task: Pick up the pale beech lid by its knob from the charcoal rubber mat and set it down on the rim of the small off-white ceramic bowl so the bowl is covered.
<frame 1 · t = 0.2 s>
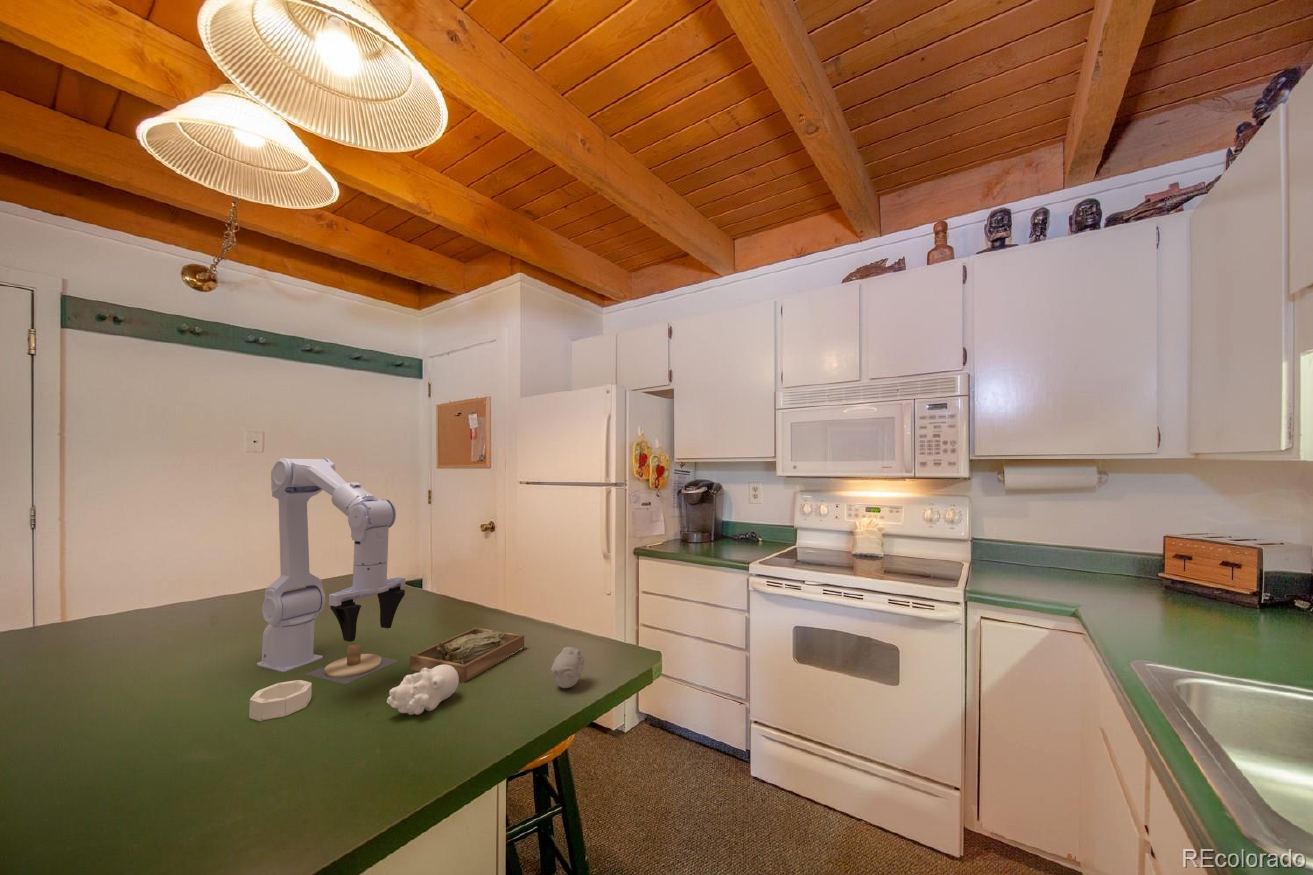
hand: (368, 633, 92), 10 cm above the countertop, tool pointing down, fingers open, 7 cm apart
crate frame: (470, 658, 105), on the countertop
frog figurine: (567, 687, 92), on the countertop
figurine: (425, 708, 84), on the countertop
mat: (353, 668, 100), on the countertop
dried leaf bundle: (470, 661, 105), resting in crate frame
lid: (353, 667, 100), resting on mat
bowl: (281, 708, 84), on the countertop
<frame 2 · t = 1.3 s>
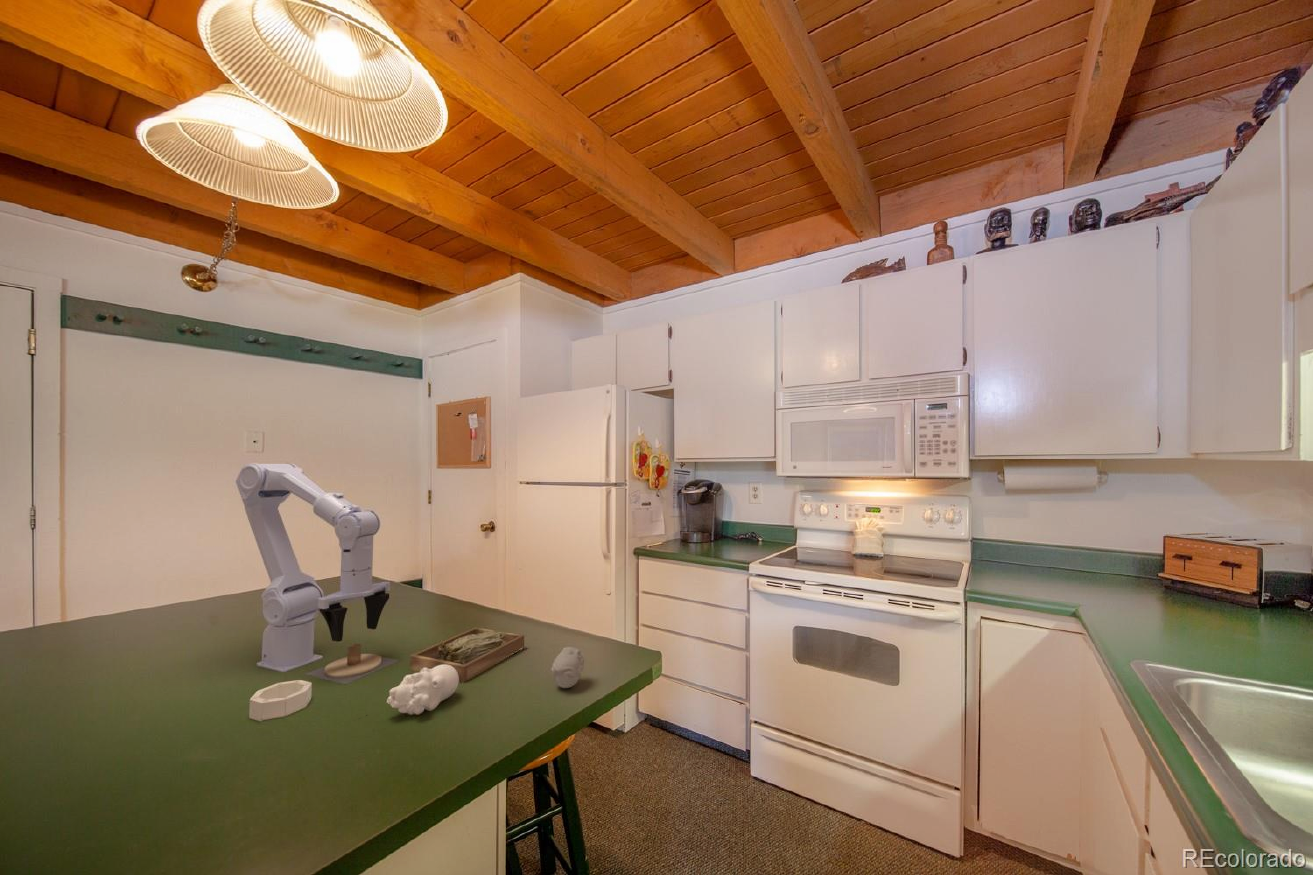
hand: (355, 634, 100), 7 cm above the countertop, tool pointing down, fingers open, 7 cm apart
nothing on the countertop moved.
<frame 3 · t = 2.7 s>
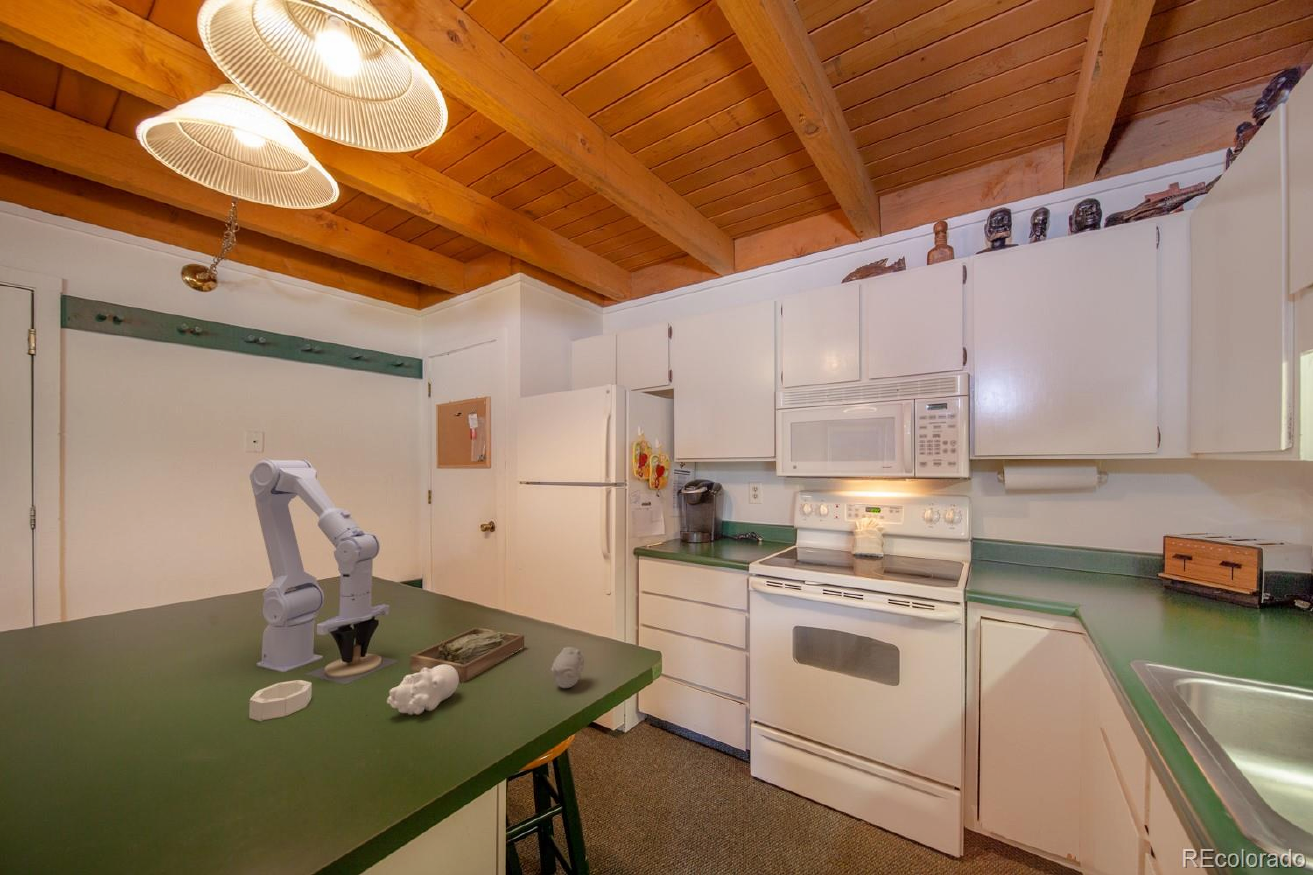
hand: (353, 658, 100), 2 cm above the countertop, tool pointing down, fingers closed on lid, 2 cm apart
lid: (353, 667, 100), resting on mat, touching gripper
everything else where it was.
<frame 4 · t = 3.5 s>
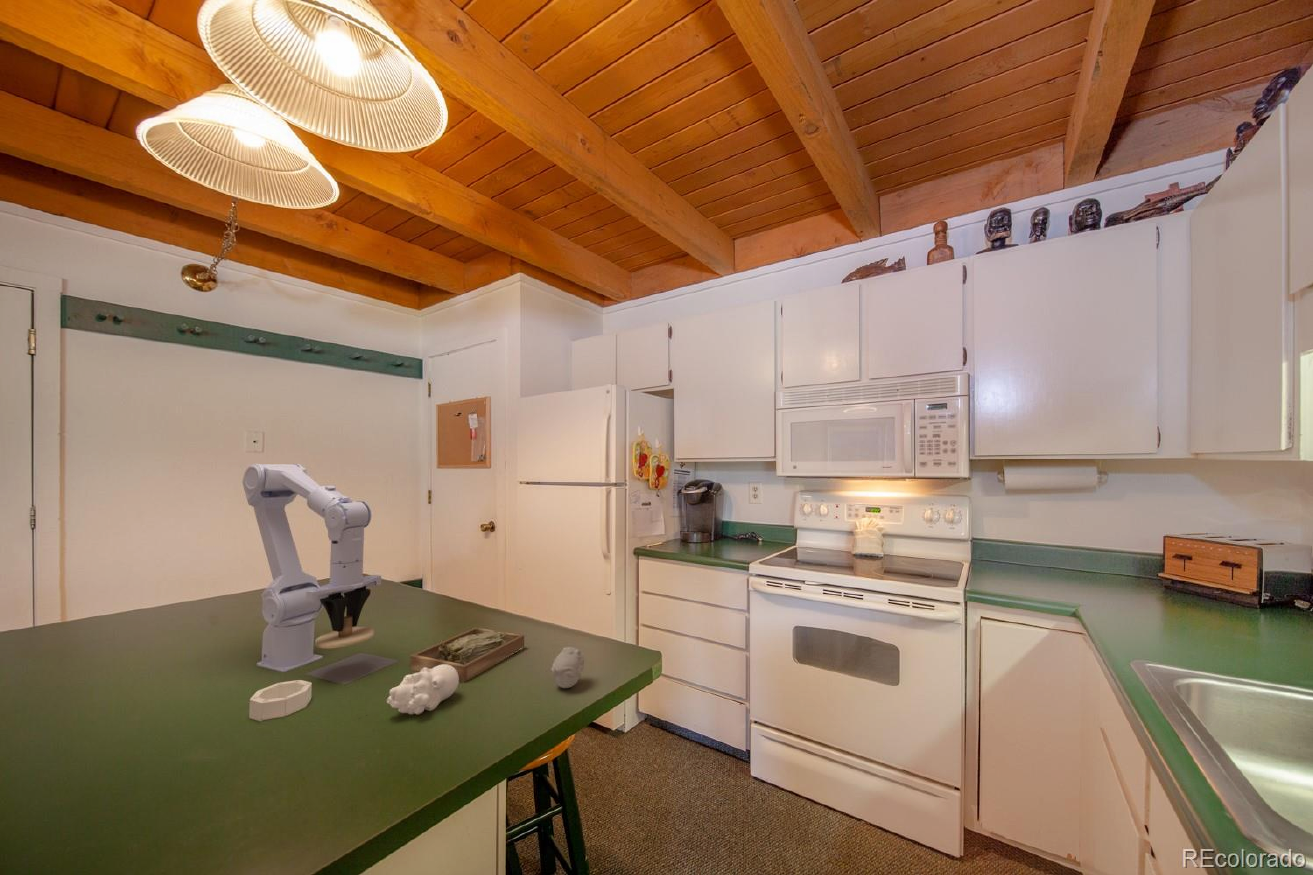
hand: (344, 628, 98), 9 cm above the countertop, tool pointing down, fingers closed on lid, 2 cm apart
lid: (345, 639, 98), point 7 cm above the countertop, touching gripper
everything else where it was.
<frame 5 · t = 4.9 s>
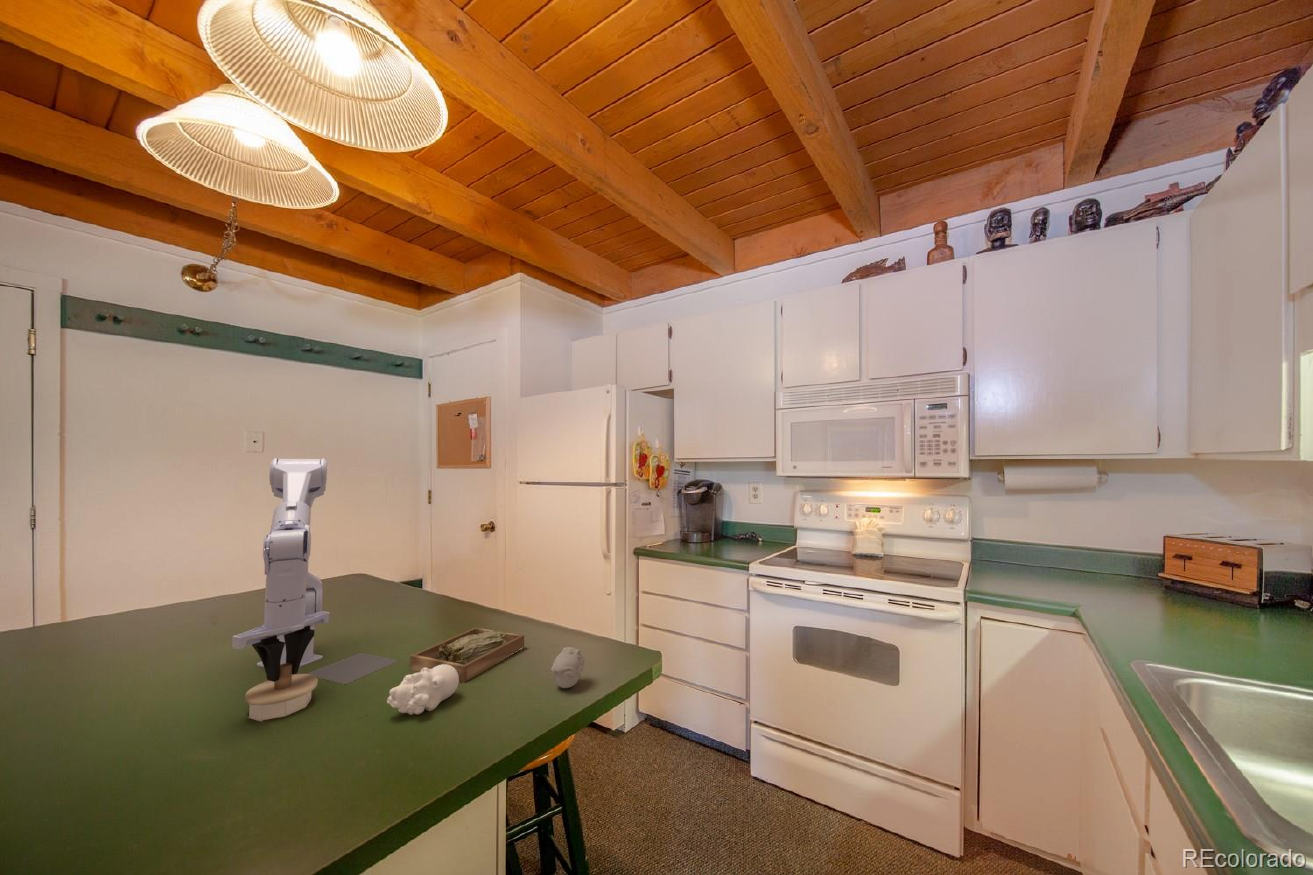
hand: (282, 676, 84), 5 cm above the countertop, tool pointing down, fingers closed on lid, 2 cm apart
lid: (282, 691, 84), point 3 cm above the countertop, touching bowl, gripper
everything else where it was.
when the fingers open (5 cm above the countertop, at t = 5.1 s): lid stays where it is, resting on bowl.
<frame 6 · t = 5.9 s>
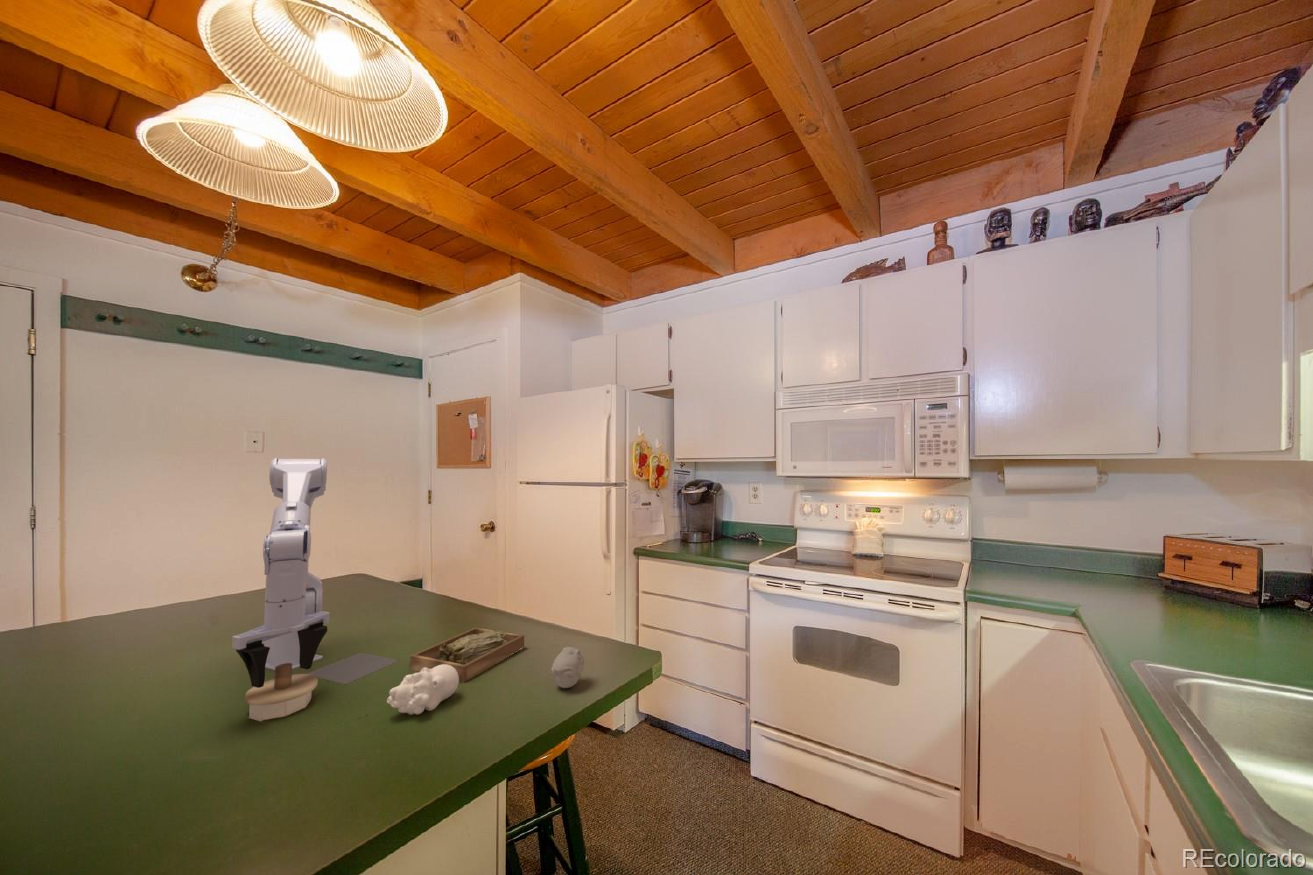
hand: (282, 676, 84), 5 cm above the countertop, tool pointing down, fingers open, 7 cm apart
lid: (282, 690, 84), point 3 cm above the countertop, touching bowl
everything else where it was.
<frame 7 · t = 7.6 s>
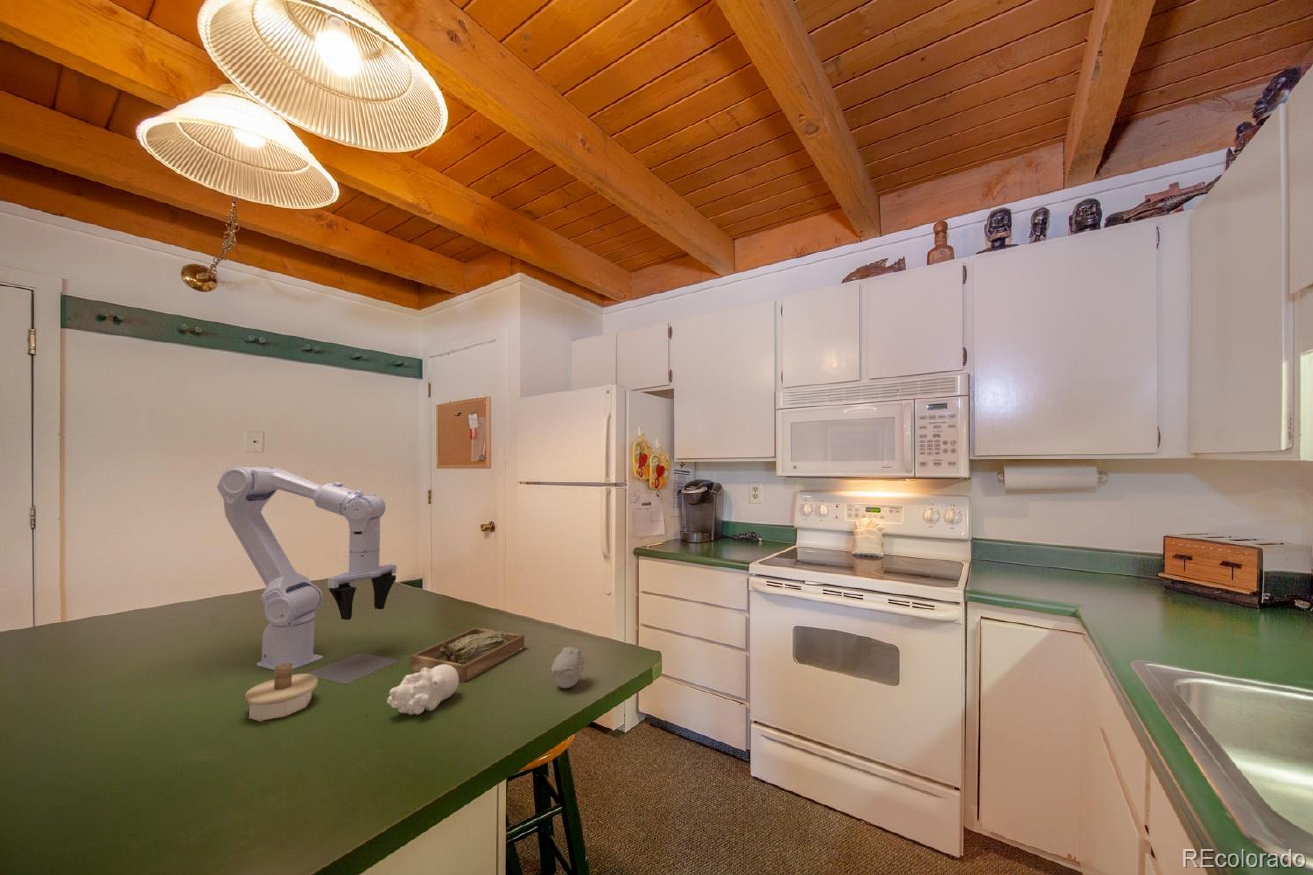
hand: (363, 613, 104), 10 cm above the countertop, tool pointing down, fingers open, 7 cm apart
nothing on the countertop moved.
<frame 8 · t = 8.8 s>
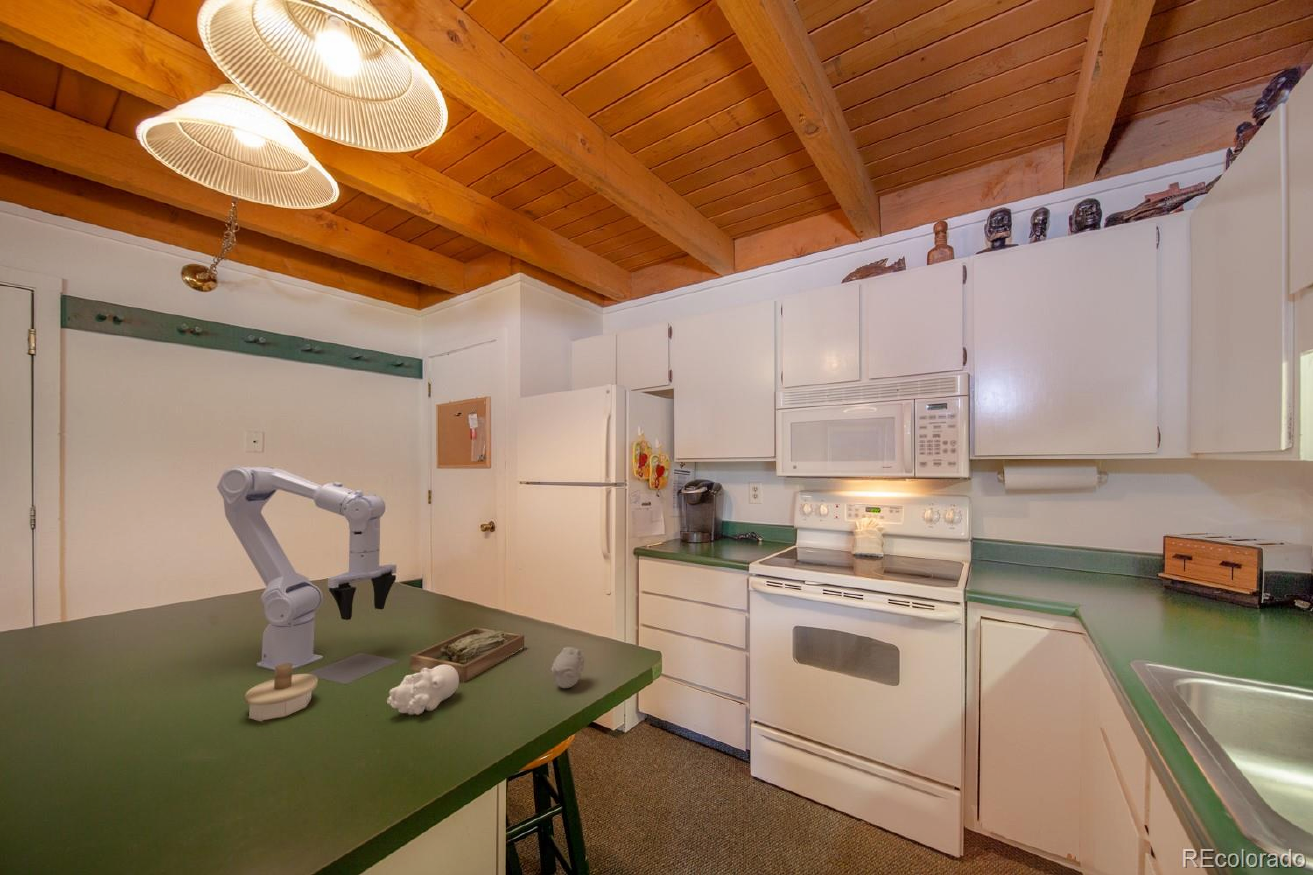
hand: (363, 613, 104), 10 cm above the countertop, tool pointing down, fingers open, 7 cm apart
nothing on the countertop moved.
at the end: lid 0.2 cm off-centre on the bowl, point 3.0 cm above the bowl's base; lid tilted 0°; the gripper is holding nothing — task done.
